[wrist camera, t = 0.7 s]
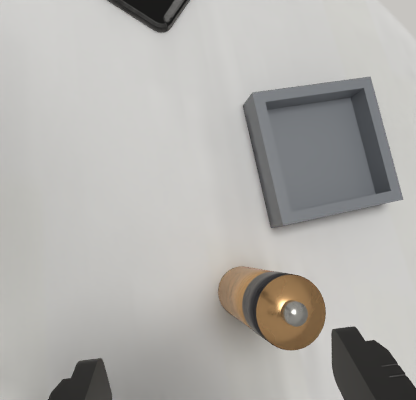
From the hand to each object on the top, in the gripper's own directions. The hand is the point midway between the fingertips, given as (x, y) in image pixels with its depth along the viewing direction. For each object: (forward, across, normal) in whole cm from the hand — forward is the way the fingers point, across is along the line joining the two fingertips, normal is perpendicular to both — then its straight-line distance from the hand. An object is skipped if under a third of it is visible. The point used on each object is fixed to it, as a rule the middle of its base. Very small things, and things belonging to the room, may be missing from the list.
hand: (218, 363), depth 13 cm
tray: (+24, -11, -1) cm, 27 cm away
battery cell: (+18, -2, +9) cm, 20 cm away
